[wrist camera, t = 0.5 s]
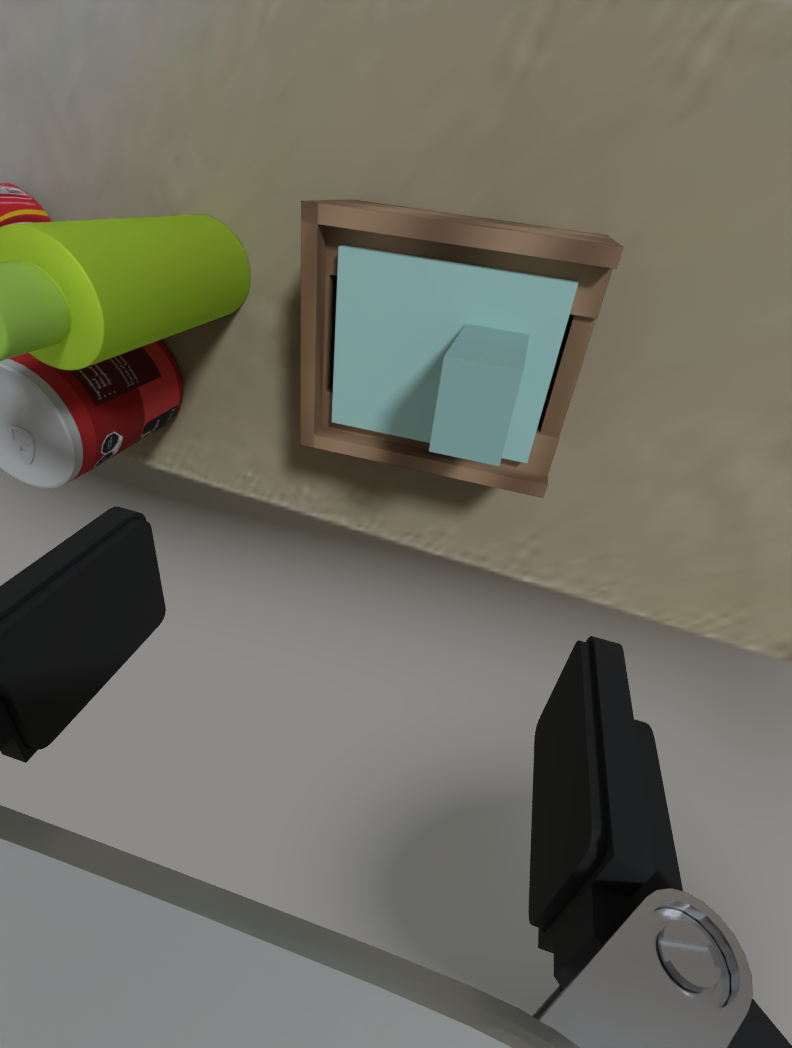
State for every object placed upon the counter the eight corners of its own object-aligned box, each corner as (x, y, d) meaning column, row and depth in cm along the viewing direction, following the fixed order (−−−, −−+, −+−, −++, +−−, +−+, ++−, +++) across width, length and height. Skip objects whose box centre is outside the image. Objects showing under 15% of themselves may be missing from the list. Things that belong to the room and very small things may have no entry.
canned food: (114, 421, 41) (-7, 484, 32) (79, 317, 37) (-72, 356, 28) (197, 428, 40) (94, 496, 31) (171, 320, 35) (41, 362, 26)
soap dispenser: (245, 343, 35) (-25, 472, 19) (157, 281, 34) (-204, 360, 18) (278, 262, 31) (-17, 335, 15) (181, 192, 31) (-238, 189, 14)
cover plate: (577, 281, 23) (585, 308, 17) (527, 457, 28) (521, 522, 22) (344, 244, 24) (283, 259, 19) (336, 417, 29) (286, 468, 24)
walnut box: (607, 235, 27) (623, 247, 21) (545, 444, 33) (543, 497, 27) (352, 199, 29) (301, 201, 23) (342, 403, 35) (300, 444, 30)
